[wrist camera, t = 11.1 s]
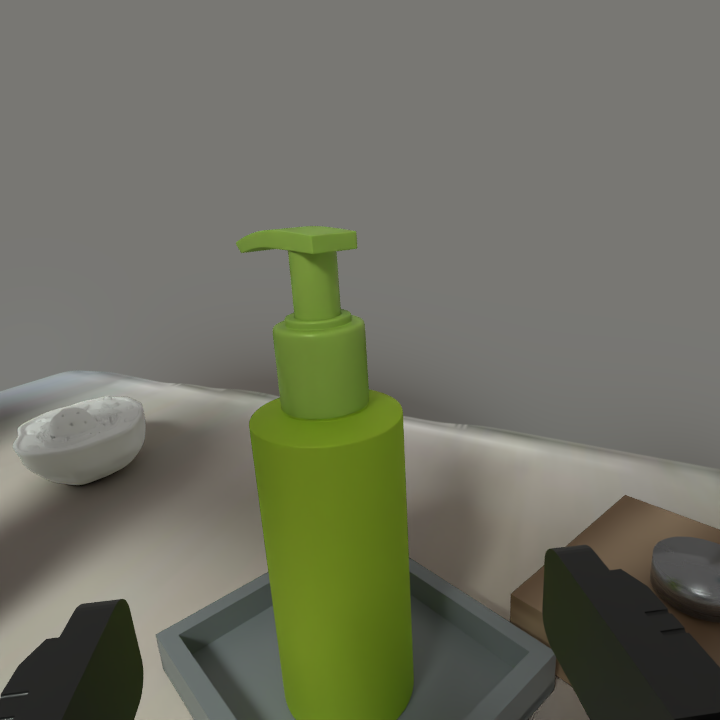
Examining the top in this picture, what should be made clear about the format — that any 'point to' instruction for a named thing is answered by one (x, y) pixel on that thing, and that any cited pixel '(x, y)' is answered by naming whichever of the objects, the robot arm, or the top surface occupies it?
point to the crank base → (623, 565)
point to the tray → (430, 658)
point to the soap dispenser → (332, 500)
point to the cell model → (82, 440)
